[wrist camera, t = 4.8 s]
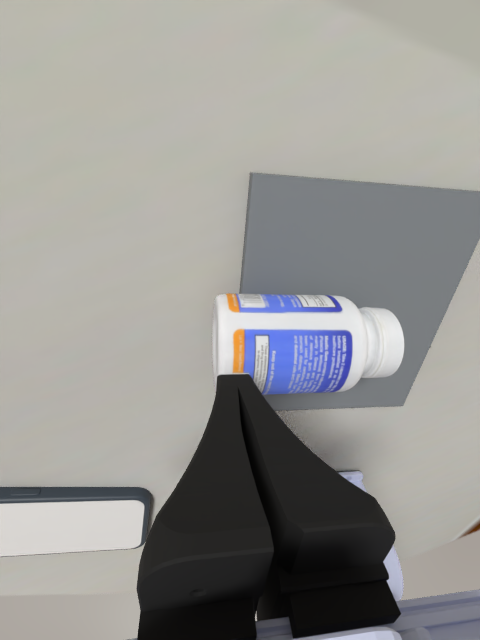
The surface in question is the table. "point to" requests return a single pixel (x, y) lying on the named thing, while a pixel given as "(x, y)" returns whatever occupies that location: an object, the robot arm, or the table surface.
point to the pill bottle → (303, 342)
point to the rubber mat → (361, 261)
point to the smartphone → (72, 519)
